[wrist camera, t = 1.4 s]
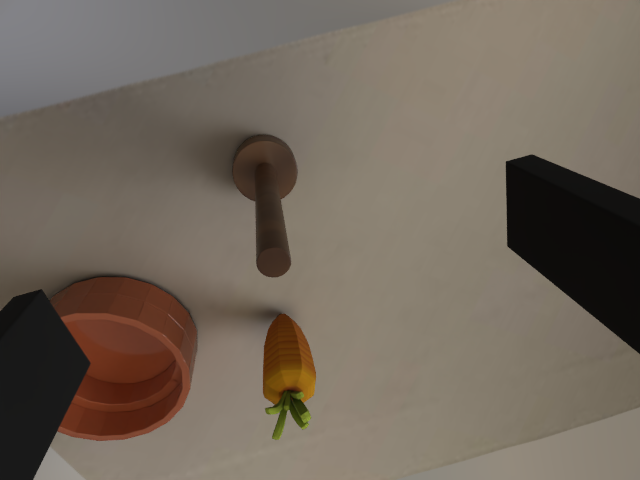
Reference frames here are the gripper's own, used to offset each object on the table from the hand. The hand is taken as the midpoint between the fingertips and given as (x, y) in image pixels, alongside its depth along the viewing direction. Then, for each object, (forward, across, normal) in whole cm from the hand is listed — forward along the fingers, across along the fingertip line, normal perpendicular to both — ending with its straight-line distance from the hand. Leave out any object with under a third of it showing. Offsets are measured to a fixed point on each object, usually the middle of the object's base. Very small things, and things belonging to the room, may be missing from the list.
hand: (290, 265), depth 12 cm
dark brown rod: (+27, -1, -4) cm, 27 cm away
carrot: (+27, -4, -21) cm, 35 cm away
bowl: (+27, -21, -18) cm, 39 cm away
